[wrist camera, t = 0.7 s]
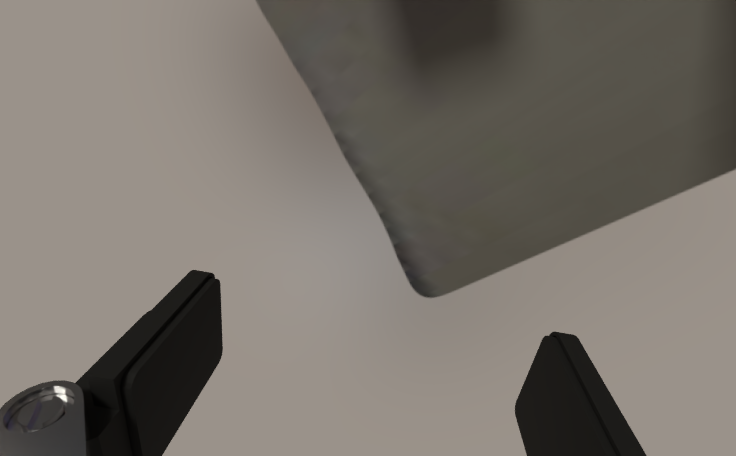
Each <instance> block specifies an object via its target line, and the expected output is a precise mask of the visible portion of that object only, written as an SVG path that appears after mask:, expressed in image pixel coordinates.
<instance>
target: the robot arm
mask: <svg viewBox="0 0 736 456" xmlns="http://www.w3.org/2000/svg"><path fill="white" fill-rule="evenodd" d="M222 349H223V347H222V320H221V293H220V281H219V280H218V279H215V277H214V274H213V273H209V272H203V271H197V270H192V271H190V272H189V273H188V274H187V275H186V276H185V277H184V278H183V279H182V280H181V281H180V282H179V283H178V284H177V285H176V286H175V287H174V288H173V289H172V290H171V291H170V292H169V293H168V294H167V295H166V296H165V297H164V298H163V299H162V300H161V301H160V302H159V303H158V304H157V305H156V306H155V307H154V308H153V309H152V310H151V311H149V312H147V313H146V314H145V315H143V316H142V318H140V320H138V321H137V322H136V323H135V324H134V325H133V326H132V327H131V328H130V330H128V331H127V332H126V333H125V334H124V335H123V336H122V337H121V338H120V339H119V340H118V341H117V342H116V343H115V344H114V345H113V346H112V347H111V348H110V349H109V350H108V351H107V352H106V353H105V354H104V355H103V356H102V357H101V358H100V359H99V360H98V361H97V362H96V363H95V364H94V365H93V366H92V367H91V368H90V369H89V370H88V371H87V372H86V373H85V374H84V375H83V376H82V377H81V378H80V379H79V380H78V381H77V382H76V383H73V382H69V381H50V382H45V383H41V384H38V385H36V386H33V387H30V388H28V389H26V390H24V391H22V392H20V393H19V394H17V395H15V396H14V397H13V398H11V399H10V400H9V401H8V402H6V403H5V404H4V405H3V406H2V407H1V409H0V456H162V454H163V453H164V451H165V450H166V448H167V446H168V445H169V443H170V441H171V440H172V438H173V437H174V435H175V433H176V432H177V430H178V428H179V427H180V425H181V423H182V422H183V420H184V419H185V417H186V415H187V414H188V412H189V411H190V409H191V407H192V406H193V404H194V402H195V400H196V399H197V398H198V396H199V394H200V393H201V391H202V389H203V388H204V386H205V385H206V383H207V381H208V380H209V378H210V376H211V375H212V373H213V371H214V369H215V368H216V366H217V365H218V363H219V361H220V359H221V356H222ZM515 415H516V418H517V422H518V426H519V429H520V433H521V436H522V439H523V443H524V446H525V450H526V453H527V456H646V454H645V453H644V451H643V449H642V447H641V446H640V444H639V442H638V440H637V439H636V437H635V435H634V434H633V432H632V430H631V428H630V427H629V425H628V423H627V421H626V420H625V418H624V416H623V415H622V413H621V411H620V410H619V408H618V406H617V404H616V403H615V401H614V399H613V397H612V396H611V394H610V392H609V391H608V389H607V387H606V386H605V384H604V382H603V380H602V379H601V377H600V375H599V374H598V372H597V370H596V368H595V367H594V365H593V363H592V361H591V360H590V358H589V356H588V354H587V353H586V351H585V350H584V348H583V346H582V344H581V343H580V341H579V339H578V338H577V337H576V336H575V335H571V334H565V333H559V332H552V333H551V334H550V336H545V337H544V338H543V340H542V342H541V344H540V347H539V349H538V351H537V354H536V356H535V358H534V361H533V363H532V365H531V368H530V370H529V373H528V375H527V377H526V380H525V382H524V384H523V387H522V389H521V392H520V394H519V396H518V399H517V401H516V405H515Z"/></svg>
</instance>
